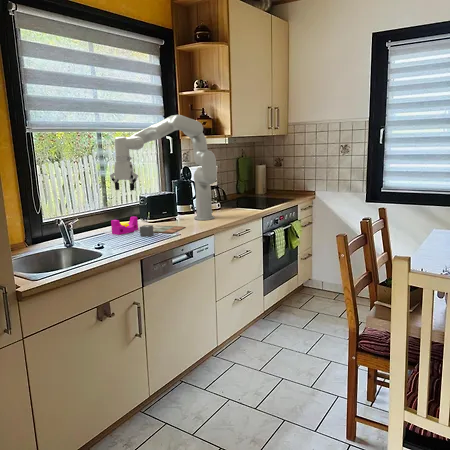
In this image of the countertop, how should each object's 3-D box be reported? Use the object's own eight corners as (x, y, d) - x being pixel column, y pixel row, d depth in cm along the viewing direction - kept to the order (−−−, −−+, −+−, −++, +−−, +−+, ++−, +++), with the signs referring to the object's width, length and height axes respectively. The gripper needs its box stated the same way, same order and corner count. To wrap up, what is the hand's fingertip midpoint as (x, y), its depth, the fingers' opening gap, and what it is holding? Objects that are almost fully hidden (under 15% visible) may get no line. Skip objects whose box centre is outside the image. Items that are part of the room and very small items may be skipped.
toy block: (118, 235, 227) (117, 221, 226) (112, 233, 231) (110, 220, 230) (141, 230, 238) (140, 217, 237) (134, 229, 242) (133, 216, 241)
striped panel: (157, 226, 246) (156, 225, 246) (185, 227, 240) (185, 226, 240) (141, 232, 231) (141, 231, 231) (172, 234, 224) (171, 232, 224)
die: (145, 234, 227) (144, 224, 226) (153, 234, 225) (152, 225, 224) (140, 236, 222) (139, 226, 221) (148, 236, 220) (148, 227, 219)
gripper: (140, 158, 235) (141, 189, 238) (113, 159, 240) (115, 189, 243) (133, 159, 228) (134, 191, 231) (105, 159, 233) (107, 190, 237)
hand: (124, 190), depth 237 cm, fingers open, 9 cm apart
